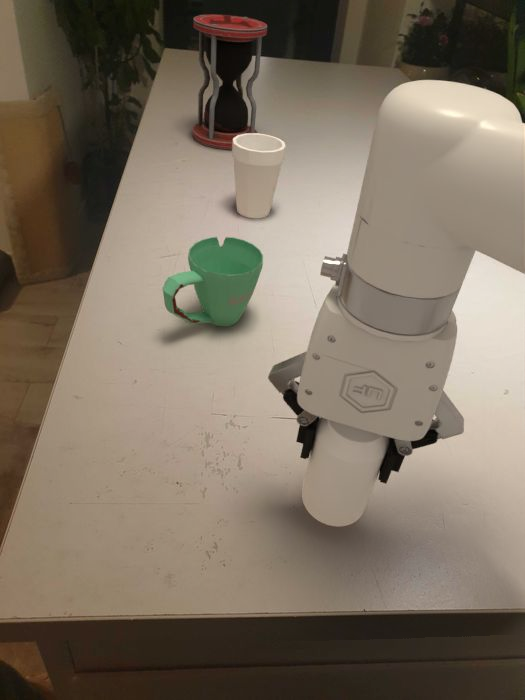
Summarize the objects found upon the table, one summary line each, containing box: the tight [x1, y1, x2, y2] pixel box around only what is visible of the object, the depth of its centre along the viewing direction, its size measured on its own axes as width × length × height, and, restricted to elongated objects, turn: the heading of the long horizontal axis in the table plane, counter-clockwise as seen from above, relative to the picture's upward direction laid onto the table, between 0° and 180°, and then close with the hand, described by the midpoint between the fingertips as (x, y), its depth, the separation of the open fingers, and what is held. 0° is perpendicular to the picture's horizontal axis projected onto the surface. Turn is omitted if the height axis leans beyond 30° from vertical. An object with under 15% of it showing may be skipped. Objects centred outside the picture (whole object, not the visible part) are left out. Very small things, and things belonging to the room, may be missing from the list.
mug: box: [162, 236, 264, 327], centre depth 70 cm, size 15×10×10 cm
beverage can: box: [301, 417, 389, 527], centre depth 47 cm, size 6×6×12 cm
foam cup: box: [231, 132, 287, 219], centre depth 97 cm, size 10×9×13 cm
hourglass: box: [192, 13, 268, 150], centre depth 122 cm, size 16×16×25 cm
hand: (345, 457), depth 47 cm, fingers closed on beverage can, 6 cm apart
